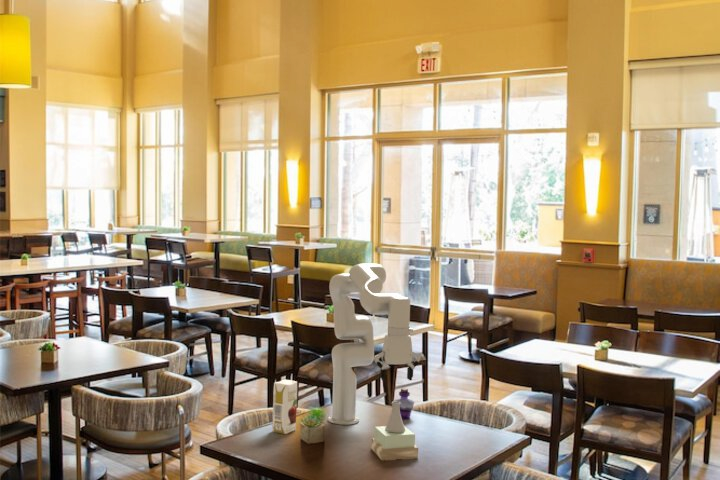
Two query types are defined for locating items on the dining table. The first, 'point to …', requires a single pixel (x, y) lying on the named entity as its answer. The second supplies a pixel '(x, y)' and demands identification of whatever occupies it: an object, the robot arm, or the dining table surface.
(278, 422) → the juice carton
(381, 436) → the sage top block
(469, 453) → the dining table surface
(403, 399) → the potion bottle
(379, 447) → the birch base block
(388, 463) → the dining table surface
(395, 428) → the flask
